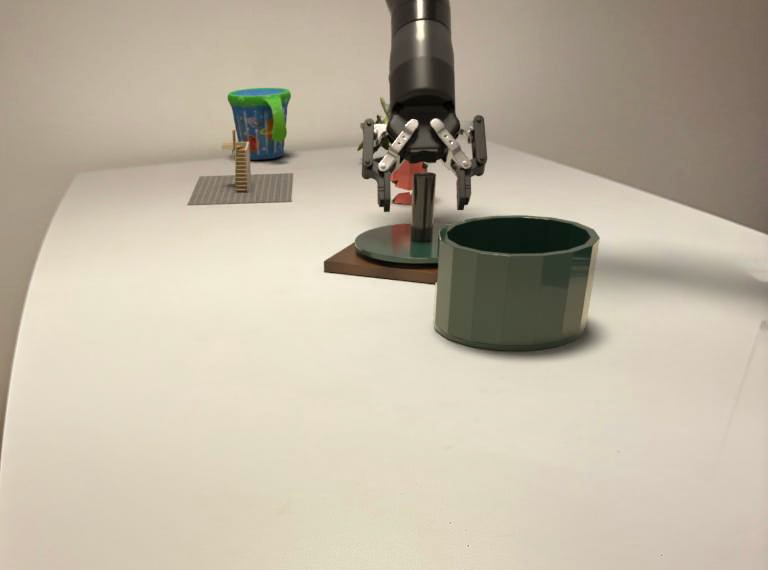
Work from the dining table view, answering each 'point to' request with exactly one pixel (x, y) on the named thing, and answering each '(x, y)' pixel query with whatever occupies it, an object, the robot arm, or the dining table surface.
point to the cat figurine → (406, 179)
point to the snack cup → (261, 120)
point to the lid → (407, 230)
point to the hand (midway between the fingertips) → (424, 207)
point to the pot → (514, 281)
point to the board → (378, 267)
